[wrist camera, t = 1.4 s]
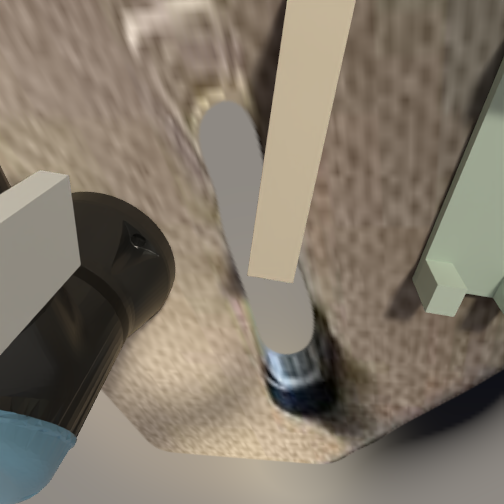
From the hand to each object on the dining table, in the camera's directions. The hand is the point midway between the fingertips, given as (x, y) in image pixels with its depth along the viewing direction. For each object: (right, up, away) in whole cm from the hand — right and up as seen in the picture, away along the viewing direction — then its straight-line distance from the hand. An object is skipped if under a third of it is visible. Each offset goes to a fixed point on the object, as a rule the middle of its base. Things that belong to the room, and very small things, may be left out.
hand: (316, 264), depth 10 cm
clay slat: (+2, +11, +23) cm, 25 cm away
